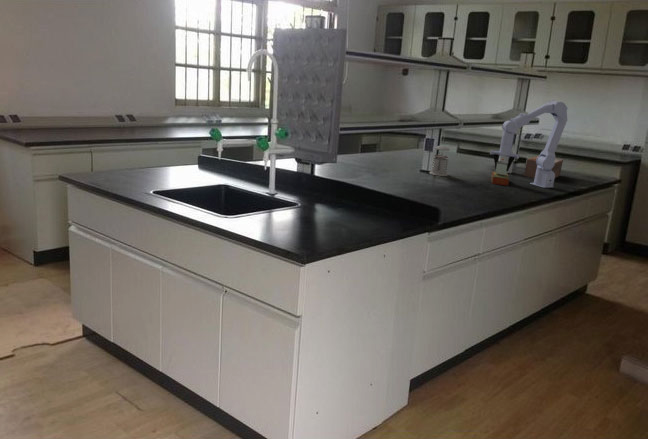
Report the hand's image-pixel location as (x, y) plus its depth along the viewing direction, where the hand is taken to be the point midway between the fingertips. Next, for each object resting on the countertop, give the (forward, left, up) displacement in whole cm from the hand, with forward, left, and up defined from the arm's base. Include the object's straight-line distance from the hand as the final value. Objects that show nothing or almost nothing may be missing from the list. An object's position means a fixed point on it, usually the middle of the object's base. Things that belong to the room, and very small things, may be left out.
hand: (501, 169), depth 302 cm
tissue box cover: (+12, -47, -7) cm, 49 cm away
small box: (+24, -28, -7) cm, 37 cm away
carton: (0, 0, -7) cm, 7 cm away
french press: (+20, +25, -7) cm, 33 cm away
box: (0, 0, -2) cm, 2 cm away
